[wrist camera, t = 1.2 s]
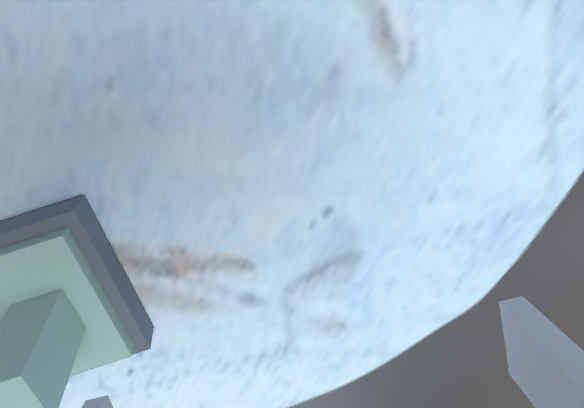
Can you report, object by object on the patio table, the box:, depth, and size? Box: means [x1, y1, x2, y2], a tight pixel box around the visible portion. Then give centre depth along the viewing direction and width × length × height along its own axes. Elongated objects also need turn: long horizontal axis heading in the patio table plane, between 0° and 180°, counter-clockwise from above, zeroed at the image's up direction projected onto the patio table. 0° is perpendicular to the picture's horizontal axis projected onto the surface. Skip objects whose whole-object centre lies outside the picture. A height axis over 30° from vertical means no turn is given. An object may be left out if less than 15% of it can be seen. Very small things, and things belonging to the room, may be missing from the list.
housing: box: [0, 195, 154, 354], centre depth 40 cm, size 14×20×3 cm
